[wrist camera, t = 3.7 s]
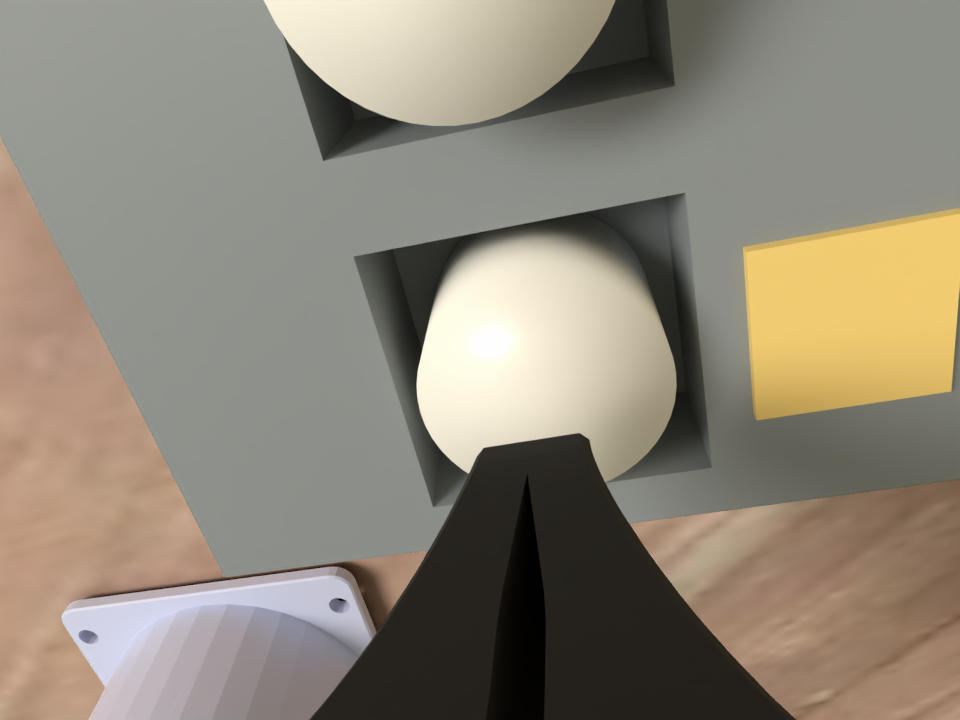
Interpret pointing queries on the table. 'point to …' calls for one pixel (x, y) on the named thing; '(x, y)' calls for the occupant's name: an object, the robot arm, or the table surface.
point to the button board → (492, 205)
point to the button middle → (440, 51)
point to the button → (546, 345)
